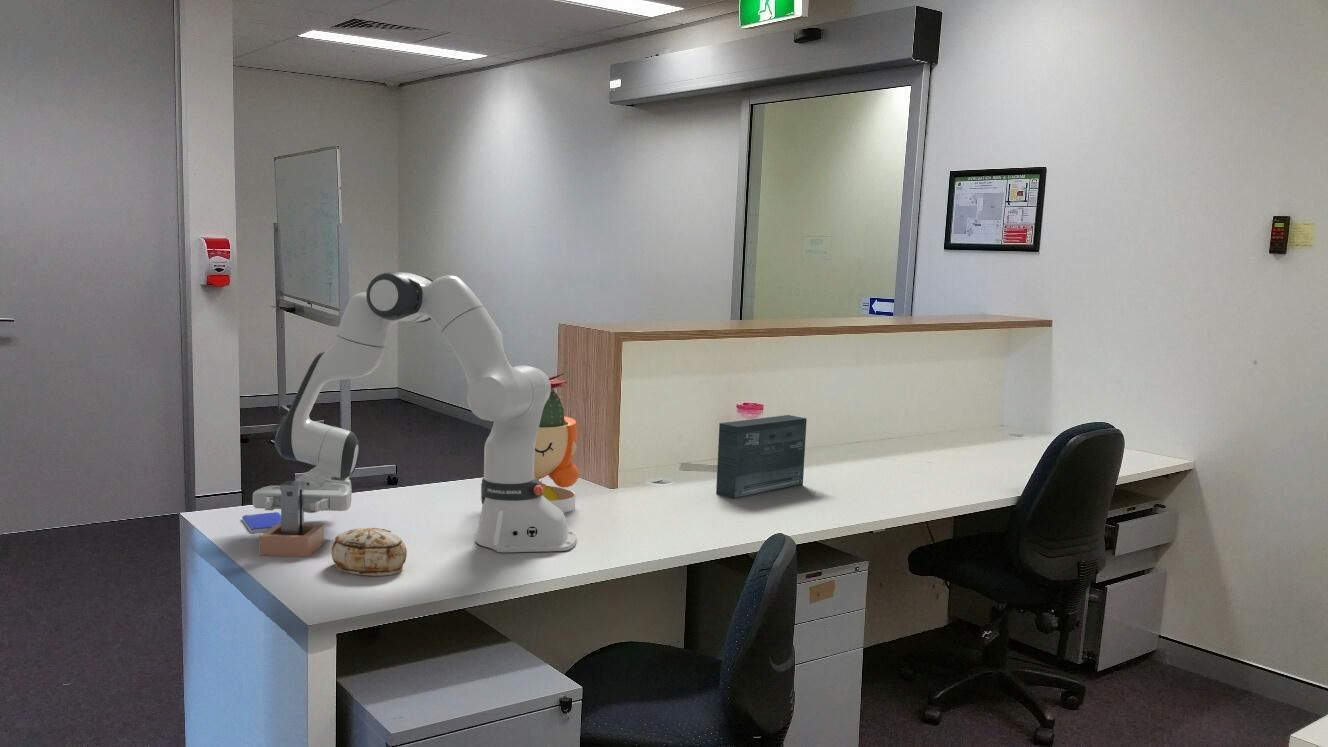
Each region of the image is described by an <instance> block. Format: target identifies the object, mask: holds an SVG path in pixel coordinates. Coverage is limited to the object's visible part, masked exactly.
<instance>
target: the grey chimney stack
mask: <svg viewBox="0 0 1328 747" xmlns="http://www.w3.org/2000/svg"><path fill="white" fill-rule="evenodd" d="M279 486H280V491H281V509H280V514H281V535H301V536H304V524H305V520H304V519H305V518H304V516H305V514H304V513H305V512H304V487H305V481H295V480H286V481H284V482H283V483H281V484H280V485H279Z"/></svg>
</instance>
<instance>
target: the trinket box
mask: <svg viewBox="0 0 1328 747" xmlns="http://www.w3.org/2000/svg"><path fill="white" fill-rule="evenodd" d="M334 539H335V540H334V541H333V543H332V545H331V550H330V551H331V552H330V553H331V558H332V559H331V560H332V561H333V562H334V564H335V566H336V569H338V570H339V571H342V572H345V573H348V574H353V575H358V576H359V575H360V576H372V577H373V576H375V577H376V576H378V577H380V576H391V575H395V574H398V573H400V572H402V570H403V568H404V567H403V566H404V564H405V563H406V560H407V557H408V556H407V555H408V554H407V553H408V551H407V547H406V544H405V542H404V541H403V540H402V538H401V537H400V536H399V535H397V534H395V533H393V532H392V531H391V530H388V529H385V528H378V527H370V528H369V527H367V528H366V527H364V528H363V527H362V528H355V529H349V530H347V531H344V532H342V533H340V534H338V535H336V536H335V538H334Z"/></svg>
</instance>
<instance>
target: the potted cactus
mask: <svg viewBox="0 0 1328 747" xmlns="http://www.w3.org/2000/svg"><path fill="white" fill-rule="evenodd" d="M564 374H565V372H562V373H560V374H558V375H555V376H554V375H553V376H550V377H548V378H549V381H550V384H551V393H550V396H549V398H548V400H547V402H546V404H545V406H544V409H543V412H542V416H541V420H540V425H539V429H538V433H537V438H536V444H535V460H534V478H535V479H537V480H538V481H540V480H541V479H543V478H546V477H547V476H548V477H549V478H550V479H551V480H552V481H553V483H554V484H555V485H556V486H552V485H547V484H546V483H543V494H542V496H544V497H545V498H546V499H547V500H549V501H550V502H551V503H553V504H554V505H555V506H556V507H558V508H559V509H560V510H562V512H563V513H564V514H565V513H568V512H572V511H573V510H575V509H576V499H577V498H576V496H577V494H576V493H575V492H574V491H573V490H571V489H568V488H569V487H571V486H573V485H575V484H576V483H577V481H578V479H579V476H580V472H579V469H578V467H577V466H576V464H573V463H572V461H573V460H574V457H575V455H576V451H577V446H578V426H577V421H576V420H575V419H574V418H572V417H568V416H567V414H565V412H564V411H566V409H567V408H565V406H563V405H564V401H563V400H562V399H563V396H561V395H559V391H558V390H556V389H557V388H563V385H564V384H568V381H567V380H559V379H557V378H559V377H561V376H563V375H564Z"/></svg>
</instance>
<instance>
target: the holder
mask: <svg viewBox="0 0 1328 747" xmlns="http://www.w3.org/2000/svg"><path fill="white" fill-rule="evenodd" d="M324 526H325V525H324V524H310V523H309V524H307V523H304V536H301V535H281V524H280V523H277V524H276V525H274V526H273V527H272V528H270V529H269V530H267V531H266V532H262V534H261V535H259V556H273V557H274V556H279V557H309V556H310V557H311V555H312V554H313V553H314V552H315V551H316V550H318V549H319V548H320V547H321V546H323V544H324V543H325V540H324V538H325V534H324V533H325V528H324Z"/></svg>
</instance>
